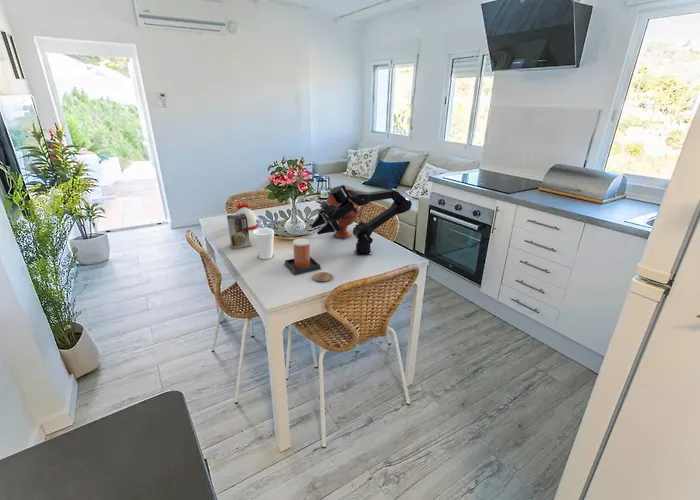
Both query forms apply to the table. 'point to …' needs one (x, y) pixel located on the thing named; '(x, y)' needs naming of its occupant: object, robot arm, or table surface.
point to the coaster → (322, 277)
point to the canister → (301, 253)
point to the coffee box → (238, 230)
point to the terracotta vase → (347, 219)
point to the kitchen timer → (248, 215)
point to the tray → (313, 266)
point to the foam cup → (264, 242)
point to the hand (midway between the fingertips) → (314, 230)
